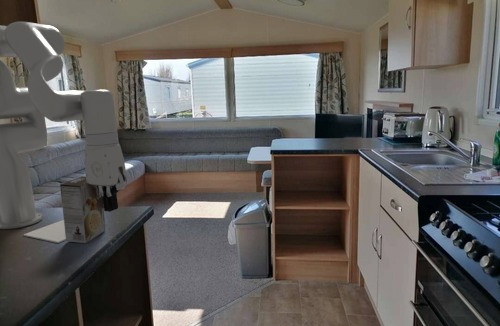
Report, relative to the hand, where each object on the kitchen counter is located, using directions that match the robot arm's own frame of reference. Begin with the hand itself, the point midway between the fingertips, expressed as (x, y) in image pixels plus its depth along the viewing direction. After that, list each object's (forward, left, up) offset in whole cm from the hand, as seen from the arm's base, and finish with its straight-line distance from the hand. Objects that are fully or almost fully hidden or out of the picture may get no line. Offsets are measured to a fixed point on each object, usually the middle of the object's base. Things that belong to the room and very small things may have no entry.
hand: (111, 209), depth 95 cm
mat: (-22, +1, -9) cm, 24 cm away
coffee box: (-11, 0, -9) cm, 14 cm away
